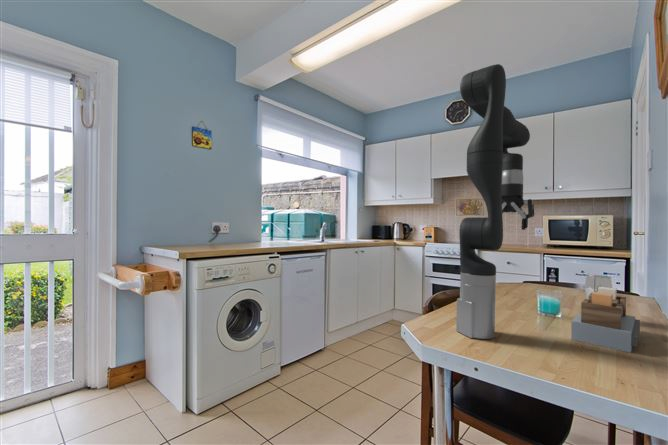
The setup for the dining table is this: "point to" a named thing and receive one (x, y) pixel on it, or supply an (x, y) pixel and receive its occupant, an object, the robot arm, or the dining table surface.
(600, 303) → the orange cube
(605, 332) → the block
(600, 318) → the brown wooden box
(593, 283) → the beer glass
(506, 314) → the dining table surface
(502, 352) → the dining table surface
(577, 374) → the dining table surface
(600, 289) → the crate cream
